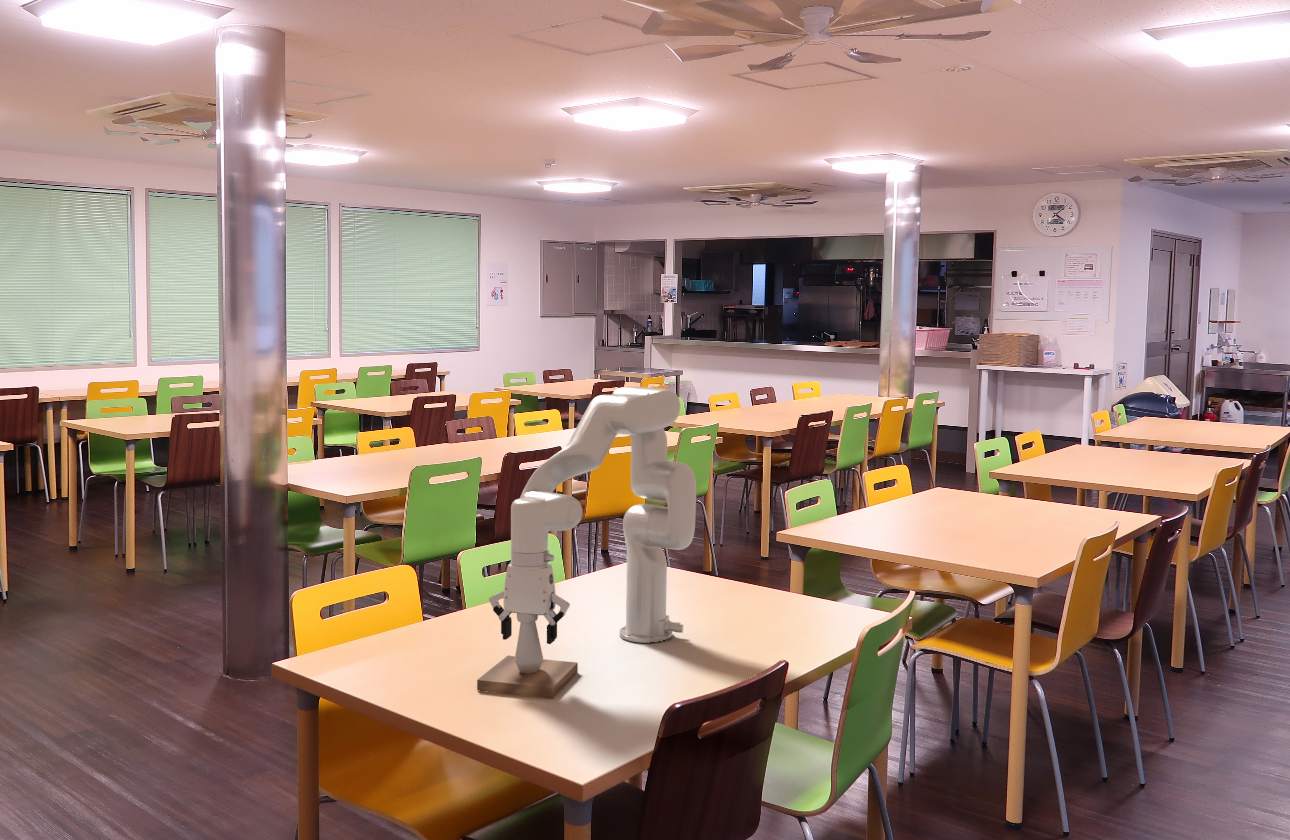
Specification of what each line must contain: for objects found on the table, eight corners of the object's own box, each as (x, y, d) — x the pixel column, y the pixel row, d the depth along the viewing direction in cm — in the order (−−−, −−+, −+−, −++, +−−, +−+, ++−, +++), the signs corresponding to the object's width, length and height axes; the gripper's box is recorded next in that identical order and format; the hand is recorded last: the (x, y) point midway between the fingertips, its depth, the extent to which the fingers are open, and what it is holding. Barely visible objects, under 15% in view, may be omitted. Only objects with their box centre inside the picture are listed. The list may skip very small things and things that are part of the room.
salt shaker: (531, 677, 211) (529, 615, 209) (509, 672, 214) (507, 611, 212) (548, 667, 216) (546, 607, 214) (526, 663, 219) (524, 603, 217)
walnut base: (577, 676, 221) (577, 662, 220) (552, 702, 205) (552, 687, 205) (507, 669, 225) (507, 655, 224) (477, 694, 209) (477, 679, 209)
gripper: (575, 557, 214) (574, 638, 215) (497, 551, 218) (497, 631, 220) (563, 565, 207) (562, 649, 208) (482, 559, 211) (482, 641, 213)
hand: (528, 640), depth 214 cm, fingers open, 9 cm apart
